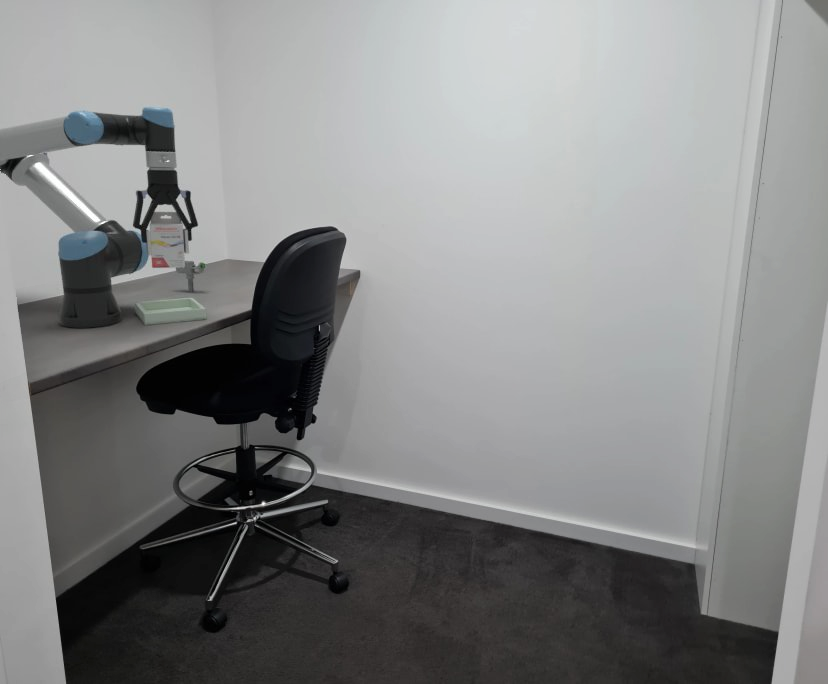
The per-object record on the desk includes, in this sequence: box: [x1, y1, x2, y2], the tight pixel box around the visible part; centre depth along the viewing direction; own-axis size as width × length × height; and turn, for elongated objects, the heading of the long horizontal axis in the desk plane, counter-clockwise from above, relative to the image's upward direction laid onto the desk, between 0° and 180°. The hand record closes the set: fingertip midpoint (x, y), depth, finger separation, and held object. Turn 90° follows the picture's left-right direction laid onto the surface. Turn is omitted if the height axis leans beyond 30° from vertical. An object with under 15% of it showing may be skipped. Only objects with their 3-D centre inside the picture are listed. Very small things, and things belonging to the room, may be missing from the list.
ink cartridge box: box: [149, 211, 186, 269], centre depth 182 cm, size 9×5×15 cm, turn 108°
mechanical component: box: [175, 260, 206, 293], centre depth 219 cm, size 3×10×10 cm, turn 78°
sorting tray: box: [134, 297, 207, 326], centre depth 187 cm, size 16×16×3 cm
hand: (168, 253), depth 183 cm, fingers closed on ink cartridge box, 9 cm apart
